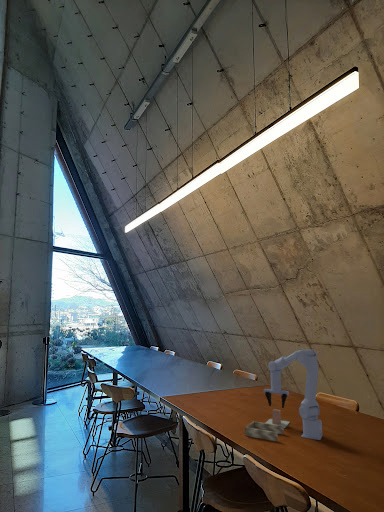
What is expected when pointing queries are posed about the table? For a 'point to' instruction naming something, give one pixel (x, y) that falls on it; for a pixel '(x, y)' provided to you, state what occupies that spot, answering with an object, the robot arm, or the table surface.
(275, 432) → the slot housing
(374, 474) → the table surface
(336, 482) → the table surface
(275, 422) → the terracotta block
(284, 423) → the mat
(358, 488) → the table surface
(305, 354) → the robot arm
